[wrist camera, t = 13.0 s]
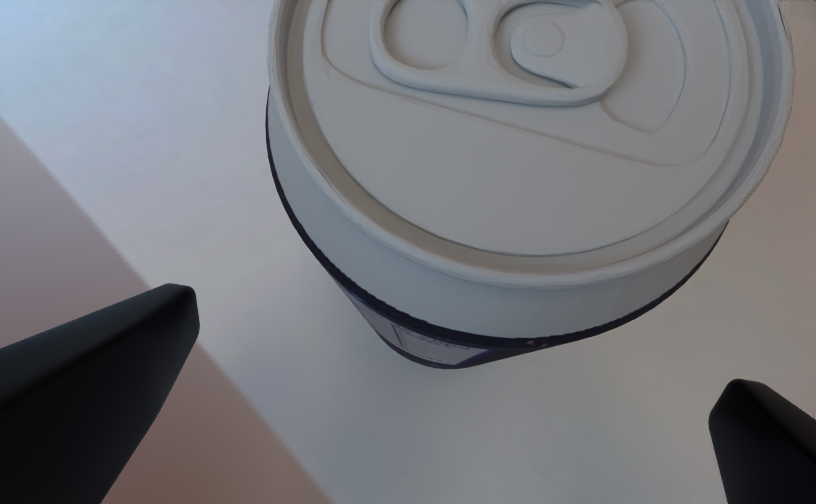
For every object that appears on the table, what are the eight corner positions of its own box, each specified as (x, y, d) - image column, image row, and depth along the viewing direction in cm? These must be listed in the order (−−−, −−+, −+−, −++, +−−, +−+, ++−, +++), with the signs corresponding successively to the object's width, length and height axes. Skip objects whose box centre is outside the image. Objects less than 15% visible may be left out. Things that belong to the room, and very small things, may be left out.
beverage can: (522, 383, 15) (870, 392, 4) (347, 354, 15) (143, 276, 4) (538, 215, 17) (823, -164, 5) (377, 192, 17) (296, -218, 5)
